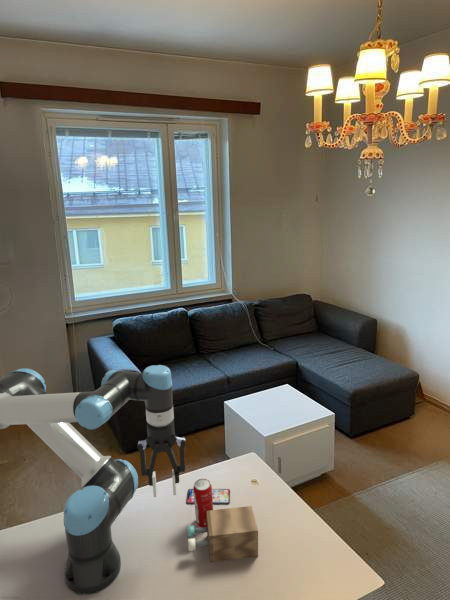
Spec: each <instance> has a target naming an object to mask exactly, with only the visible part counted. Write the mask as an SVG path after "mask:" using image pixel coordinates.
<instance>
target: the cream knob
mask: <svg viewBox="0 0 450 600" xmlns="http://www.w3.org/2000/svg"><path fill="white" fill-rule="evenodd" d="M187 543H188V544H187V547H188V552H189V551H196V548H197V547H206V546H208V545H209V540H208V539H205V540H204V539H203V540H196V538H195V537H194V538H193V537H191V538H188V539H187Z"/></svg>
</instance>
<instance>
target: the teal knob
mask: <svg viewBox="0 0 450 600" xmlns="http://www.w3.org/2000/svg"><path fill="white" fill-rule="evenodd" d="M207 532H208V527H195V525H193V524H192V525H187V537H188V538H193V537H194V538H195V537H196V536H195V534H204V533H207Z"/></svg>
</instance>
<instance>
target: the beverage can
mask: <svg viewBox="0 0 450 600" xmlns="http://www.w3.org/2000/svg"><path fill="white" fill-rule="evenodd" d="M192 489H193V490H194V502H195V505H194V511H195V512H194V513H195V523H196V525H197V526H198V528H201V527H207V511H209V510H214V505H213V500H212V489H213V487H212V484H211V481H210V480H209V479H207V478H199V479H197V480H196V481H195V482H194V484H193V488H192Z"/></svg>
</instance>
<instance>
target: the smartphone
mask: <svg viewBox="0 0 450 600" xmlns="http://www.w3.org/2000/svg"><path fill="white" fill-rule="evenodd" d="M212 500H213V506H214V505H215V506H216V505H219V506H220V505H221V506H222V505H224V506H227V505H230V503H231V490H230V488H212ZM185 501H186V502H185V504H186V505H189V506H191V505H194V506H195V502H194V490H193V488H189V489H188V490H187V496H186V499H185Z"/></svg>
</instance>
